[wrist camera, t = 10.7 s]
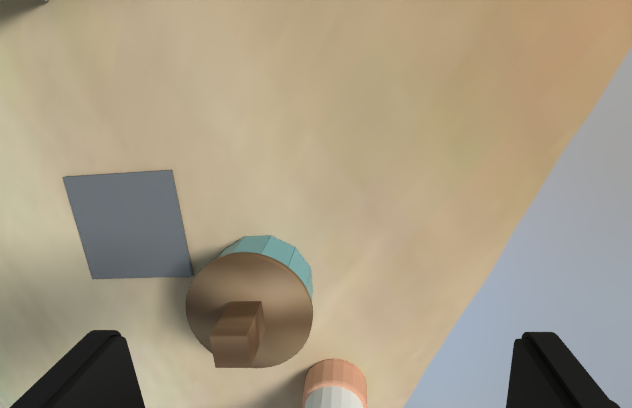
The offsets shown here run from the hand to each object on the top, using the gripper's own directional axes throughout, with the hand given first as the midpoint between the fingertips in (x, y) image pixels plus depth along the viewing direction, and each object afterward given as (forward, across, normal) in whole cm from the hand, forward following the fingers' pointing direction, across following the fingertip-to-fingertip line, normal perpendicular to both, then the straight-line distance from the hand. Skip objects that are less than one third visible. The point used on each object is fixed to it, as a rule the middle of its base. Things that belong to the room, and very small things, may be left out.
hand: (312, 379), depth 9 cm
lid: (+22, +9, +13) cm, 27 cm away
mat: (+28, +23, +7) cm, 37 cm away
